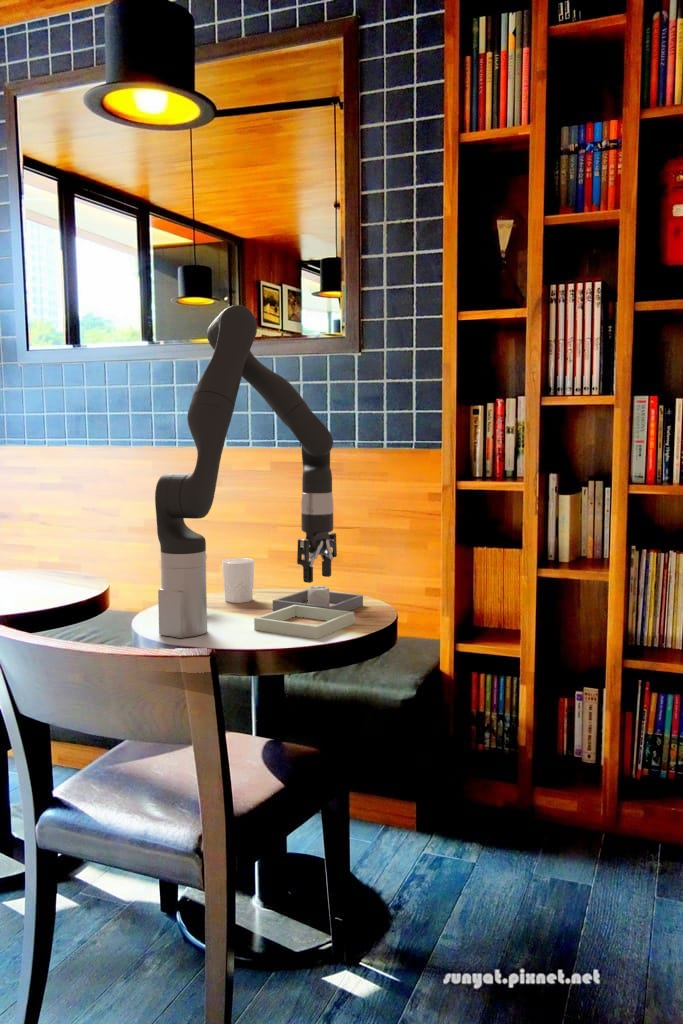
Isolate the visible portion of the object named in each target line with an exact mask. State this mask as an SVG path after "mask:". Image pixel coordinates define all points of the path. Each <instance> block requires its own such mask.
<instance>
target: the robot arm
mask: <svg viewBox="0 0 683 1024" xmlns="http://www.w3.org/2000/svg"><path fill="white" fill-rule="evenodd" d="M257 331H258V323H257V320H256V317H255V315H254V314H253V312H252V311H251V310H250V309H249V308H248V307H246V306H244V305H240V304H234V305H231V306H228V307H227V308H225V309H223V310H222V311H221V312H220V313H219V314H218V316H216V317H215V318H214V320H213V321H212V322H211V323H210V325H209V326H208V328H207V333H206V337H207V340H208V344H209V345H210V346H211V348H212V349H213V350H214V351H213V354H212V356H211V358H210V360H209V362H208V364H207V366H206V368H205V369H204V370H203V373H202V375H201V377H200V378H199V380H198V382H197V385H196V386H195V389H194V391H193V393H192V398H191V401H190V404H189V408H188V411H187V419H186V420H187V425H188V429H189V431H190V434H191V436H192V439H193V443H194V444H195V448H196V451H197V458H196V464H195V467H194V470H193V472H192V473H174V472H173V473H170V472H169V473H164V474H162V475H161V476H160V477H159V479H158V481H157V483H156V485H155V492H154V504H155V506H154V507H155V517H156V529H157V530H156V531H157V532H156V533H157V538H158V542H159V545H160V574H161V575H160V580H161V581H160V582H161V583H160V584H161V588H159V589H158V590H157V594H158V595H157V596H158V597H157V598H158V599H157V600H158V601H157V602H158V605H157V606H158V635H159V636H166V637H173V638H178V639H183V638H190V637H191V638H192V637H196V636H197V637H198V636H201V635H204V634H206V633H207V632H208V611H207V609H208V607H207V606H208V604H207V558H206V556H207V544H206V543H207V542H206V538H205V537H204V536H203V535H202V534H200V533H198V532H196V531H194V530H192V529H191V528H189V527H188V526H187V524H186V522H185V519H190V520H191V519H195V520H196V519H203V518H205V517H206V516H207V515H208V514H209V513H210V510H211V508H212V505H213V504H214V503H213V502H214V499H215V495H216V494H215V493H216V489H217V482H218V475H219V471H220V470H219V469H220V465H221V458H222V455H223V450H224V445H225V442H226V437H227V435H228V431H229V428H230V425H231V422H232V421H231V420H232V418H233V414H234V411H235V406H236V401H237V397H238V392H239V390H240V386H241V381H242V378H243V379H244V380H245V381H246V382H247V383H248V384H249V385H250V386H251V387H252V388H253V389H255V391H256V392H258V394H259V395H260V396H261V398H263V400H264V401H265V402H266V403H267V404H268V405H269V407H270V408H271V410H273V411H272V412H274V413H275V415H276V416H277V417H278V418H279V419H280V421H282V423H283V424H284V425H285V426H286V427H287V428H288V429H290V431H291V432H292V434H293V435H294V436H295V439H297V440H298V442H299V443H300V445H301V460H302V478H301V480H302V482H301V483H302V484H301V485H302V486H301V491H302V492H301V493H302V494H301V502H300V503H301V505H300V507H301V515H300V516H301V531H302V532H303V533H305V538H298V539H297V555H296V556H297V557H296V559H297V560H296V564H297V565H300V566H301V567H302V571H303V572H302V577H303V578H302V580H303V583H309V584H310V583H313V582H314V563H315V560H316V559H318V557H319V556H320V557H321V559H322V561H321V576H322V577H323V578H326V577H327V578H330V577H332V562H333V561H334V558H337V555H338V554H337V552H338V550H337V548H338V547H337V533H335V532H333V530H334V499H333V498H334V497H333V474H332V469H331V451H332V449H333V445H334V439H333V435H332V433H331V431H330V430H329V429H328V428H327V426H326V425H324V423H323V422H322V420H320V418H318V417H317V415H315V413H314V412H313V411H312V410H311V409H310V407H309V405H308V404H307V403H306V401H305V400H304V399H303V397H302V396H301V395H300V393H299V392H298V390H296V388H295V387H294V385H292V384H291V383H290V382H289V381H288V380H287V379H286V378H284V377H283V376H281V375H280V374H278V373H276V372H274V370H271V369H270V368H268V367H267V366H265V365H264V364H263V363H261V362H260V361H259V360H258V359H257V357H256V356H255V355H254V354H253V353H252V351H251V349H252V345H253V343H254V341H255V339H256V336H257Z"/></svg>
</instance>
